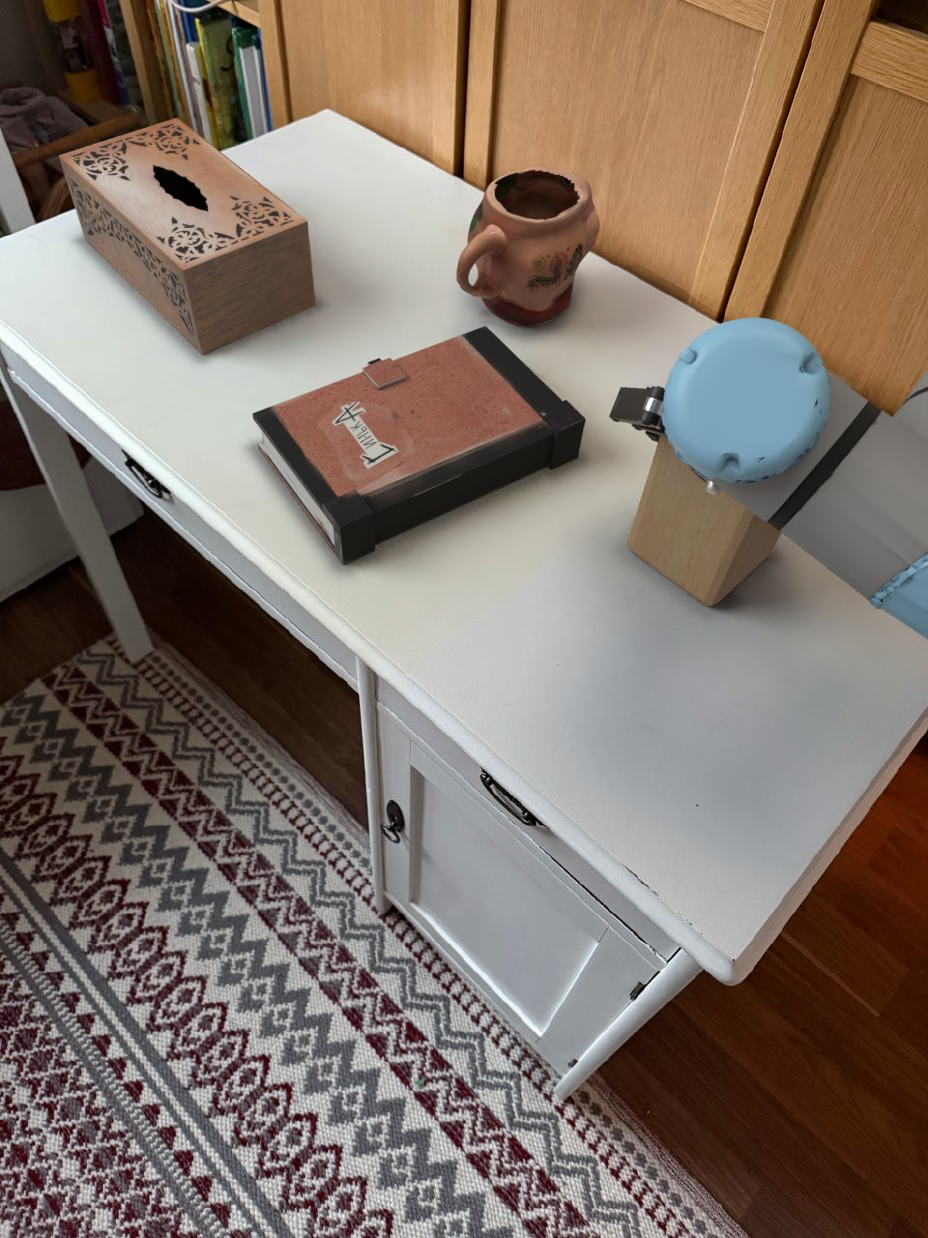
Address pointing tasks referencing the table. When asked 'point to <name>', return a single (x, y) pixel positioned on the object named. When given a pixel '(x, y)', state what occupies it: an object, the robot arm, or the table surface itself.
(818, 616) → the table surface
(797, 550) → the table surface
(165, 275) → the tissue box cover
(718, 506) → the wooden block
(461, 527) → the table surface
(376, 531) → the book
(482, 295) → the terracotta mug
